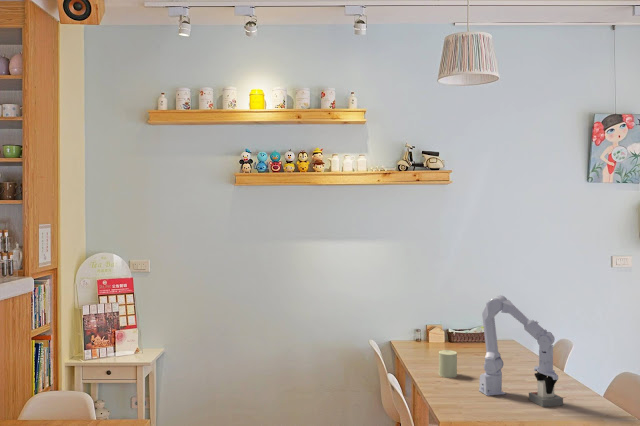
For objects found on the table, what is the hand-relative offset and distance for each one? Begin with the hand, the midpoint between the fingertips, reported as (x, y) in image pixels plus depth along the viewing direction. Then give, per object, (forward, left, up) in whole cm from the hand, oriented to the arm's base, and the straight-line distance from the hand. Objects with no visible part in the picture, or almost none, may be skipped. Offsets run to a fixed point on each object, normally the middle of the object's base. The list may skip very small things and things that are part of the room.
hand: (545, 391), depth 259 cm
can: (-23, +47, -5) cm, 53 cm away
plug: (0, 0, -4) cm, 4 cm away
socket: (0, 0, -5) cm, 5 cm away
